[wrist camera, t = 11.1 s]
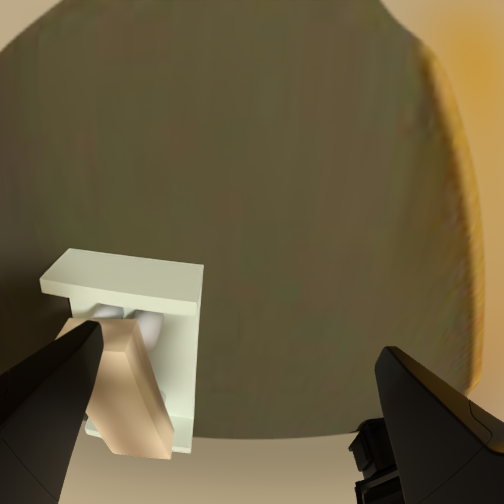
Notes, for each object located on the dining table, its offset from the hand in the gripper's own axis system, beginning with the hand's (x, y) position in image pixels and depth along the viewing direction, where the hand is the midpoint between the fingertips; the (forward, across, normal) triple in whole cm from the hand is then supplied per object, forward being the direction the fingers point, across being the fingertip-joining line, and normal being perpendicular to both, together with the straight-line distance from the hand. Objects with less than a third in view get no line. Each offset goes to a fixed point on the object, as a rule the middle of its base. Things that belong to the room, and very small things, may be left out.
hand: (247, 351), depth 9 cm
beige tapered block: (+8, +7, +12) cm, 16 cm away
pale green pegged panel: (+12, +7, +12) cm, 18 cm away
